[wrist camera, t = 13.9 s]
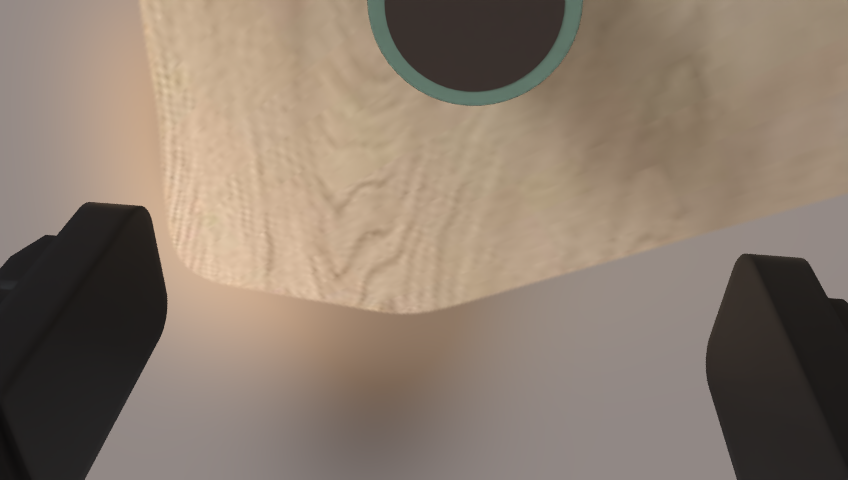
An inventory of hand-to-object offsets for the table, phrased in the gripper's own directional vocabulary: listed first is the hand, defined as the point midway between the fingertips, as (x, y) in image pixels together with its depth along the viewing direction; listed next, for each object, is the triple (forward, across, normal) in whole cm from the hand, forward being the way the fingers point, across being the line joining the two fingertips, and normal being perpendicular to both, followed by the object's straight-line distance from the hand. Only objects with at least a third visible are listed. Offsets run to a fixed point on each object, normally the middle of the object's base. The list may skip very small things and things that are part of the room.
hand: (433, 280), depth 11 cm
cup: (+22, 0, 0) cm, 22 cm away
